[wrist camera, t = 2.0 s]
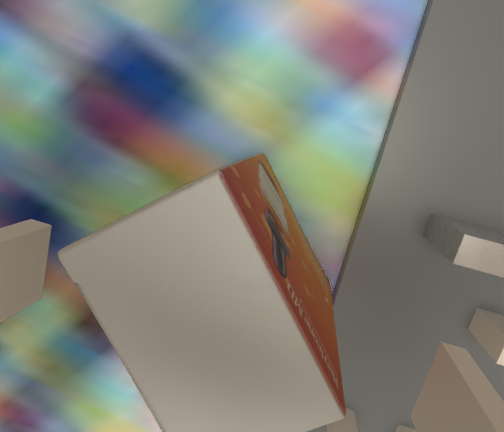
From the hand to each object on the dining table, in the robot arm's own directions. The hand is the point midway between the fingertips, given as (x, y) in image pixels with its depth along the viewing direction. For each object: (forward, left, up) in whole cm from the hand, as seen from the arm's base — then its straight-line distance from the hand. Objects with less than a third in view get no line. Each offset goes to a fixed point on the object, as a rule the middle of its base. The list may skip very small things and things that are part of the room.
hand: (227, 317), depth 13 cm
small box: (0, 0, -9) cm, 9 cm away
